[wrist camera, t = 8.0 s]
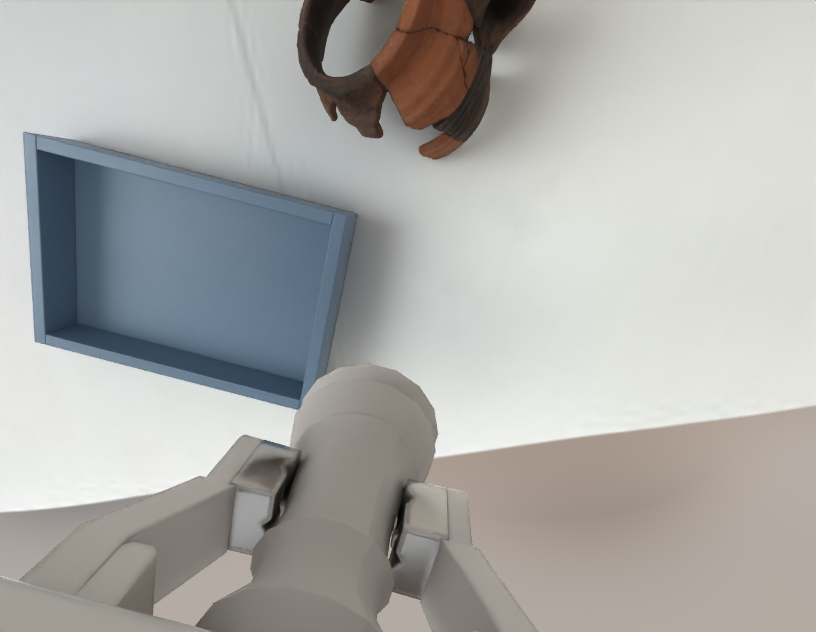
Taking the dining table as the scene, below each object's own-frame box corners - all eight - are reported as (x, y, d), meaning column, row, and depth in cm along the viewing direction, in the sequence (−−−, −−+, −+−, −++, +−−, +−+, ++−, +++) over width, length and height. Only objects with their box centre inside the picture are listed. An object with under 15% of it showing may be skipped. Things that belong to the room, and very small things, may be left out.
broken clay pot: (405, 200, 25) (315, 153, 18) (358, 87, 27) (261, 5, 20) (588, 72, 20) (563, -67, 13) (513, -57, 22) (455, -240, 15)
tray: (73, 328, 29) (34, 342, 27) (69, 139, 25) (22, 131, 22) (322, 392, 29) (309, 413, 27) (357, 213, 25) (347, 215, 22)
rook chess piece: (371, 329, 12) (247, 568, 4) (466, 427, 13) (509, 782, 5) (276, 412, 13) (42, 719, 5) (369, 497, 14) (279, 877, 6)
